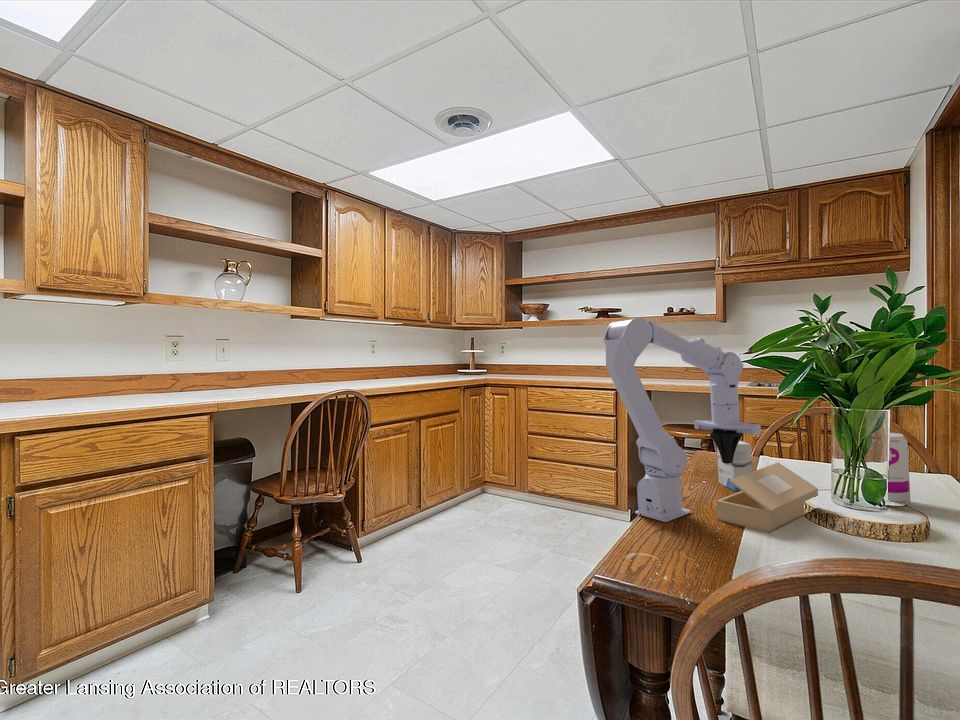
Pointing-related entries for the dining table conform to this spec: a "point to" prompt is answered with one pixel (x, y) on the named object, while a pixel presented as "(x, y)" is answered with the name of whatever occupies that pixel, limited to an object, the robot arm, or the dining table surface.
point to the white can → (898, 470)
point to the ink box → (735, 465)
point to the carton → (759, 512)
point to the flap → (773, 486)
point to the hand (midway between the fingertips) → (727, 462)
